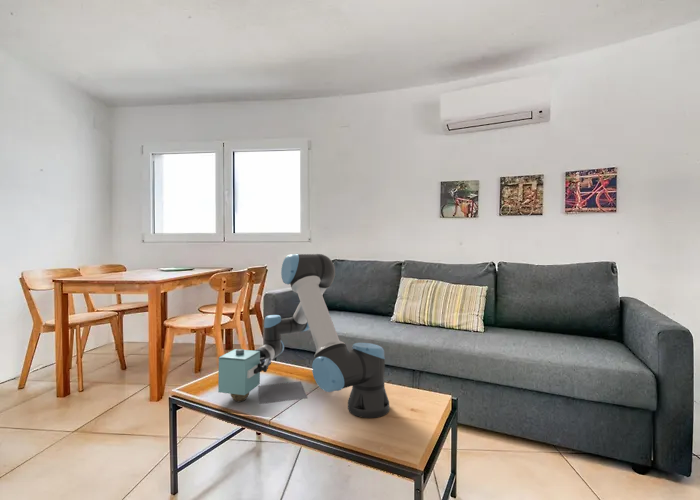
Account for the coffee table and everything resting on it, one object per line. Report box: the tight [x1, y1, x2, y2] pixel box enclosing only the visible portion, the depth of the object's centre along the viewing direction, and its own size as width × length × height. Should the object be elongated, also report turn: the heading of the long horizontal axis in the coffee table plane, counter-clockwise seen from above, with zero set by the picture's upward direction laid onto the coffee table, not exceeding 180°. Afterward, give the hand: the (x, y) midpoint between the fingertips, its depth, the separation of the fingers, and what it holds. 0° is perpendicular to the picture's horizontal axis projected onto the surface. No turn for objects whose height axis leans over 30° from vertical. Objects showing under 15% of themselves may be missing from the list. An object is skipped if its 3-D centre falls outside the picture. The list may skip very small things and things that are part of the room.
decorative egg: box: [230, 392, 250, 402], centre depth 130 cm, size 7×7×10 cm
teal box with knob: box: [217, 348, 261, 395], centre depth 131 cm, size 11×11×14 cm
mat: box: [257, 381, 308, 405], centre depth 138 cm, size 18×18×1 cm
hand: (233, 373), depth 127 cm, fingers closed on teal box with knob, 11 cm apart
